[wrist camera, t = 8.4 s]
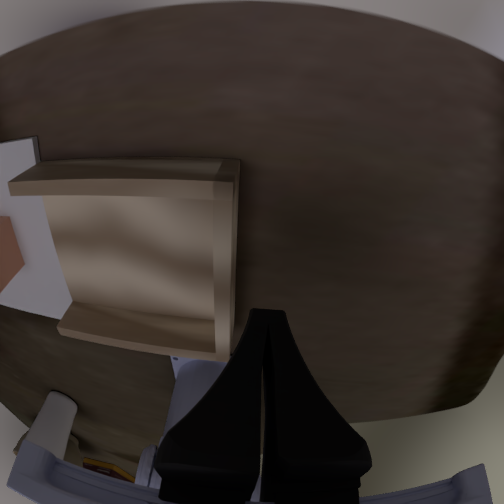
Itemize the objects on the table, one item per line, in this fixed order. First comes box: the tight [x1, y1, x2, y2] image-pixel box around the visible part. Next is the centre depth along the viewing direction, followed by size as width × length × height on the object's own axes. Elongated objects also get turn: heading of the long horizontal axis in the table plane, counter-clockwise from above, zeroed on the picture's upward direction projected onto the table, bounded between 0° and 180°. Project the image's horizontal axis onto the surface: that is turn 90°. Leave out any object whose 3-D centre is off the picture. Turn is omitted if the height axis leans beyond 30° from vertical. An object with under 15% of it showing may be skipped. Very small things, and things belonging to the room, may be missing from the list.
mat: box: [0, 136, 72, 319], centre depth 22 cm, size 18×14×1 cm
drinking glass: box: [25, 391, 78, 460], centre depth 33 cm, size 7×7×15 cm
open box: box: [7, 157, 240, 362], centre depth 21 cm, size 14×15×4 cm
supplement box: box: [83, 458, 135, 484], centre depth 56 cm, size 10×15×16 cm
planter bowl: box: [13, 431, 83, 468], centre depth 46 cm, size 16×16×11 cm
